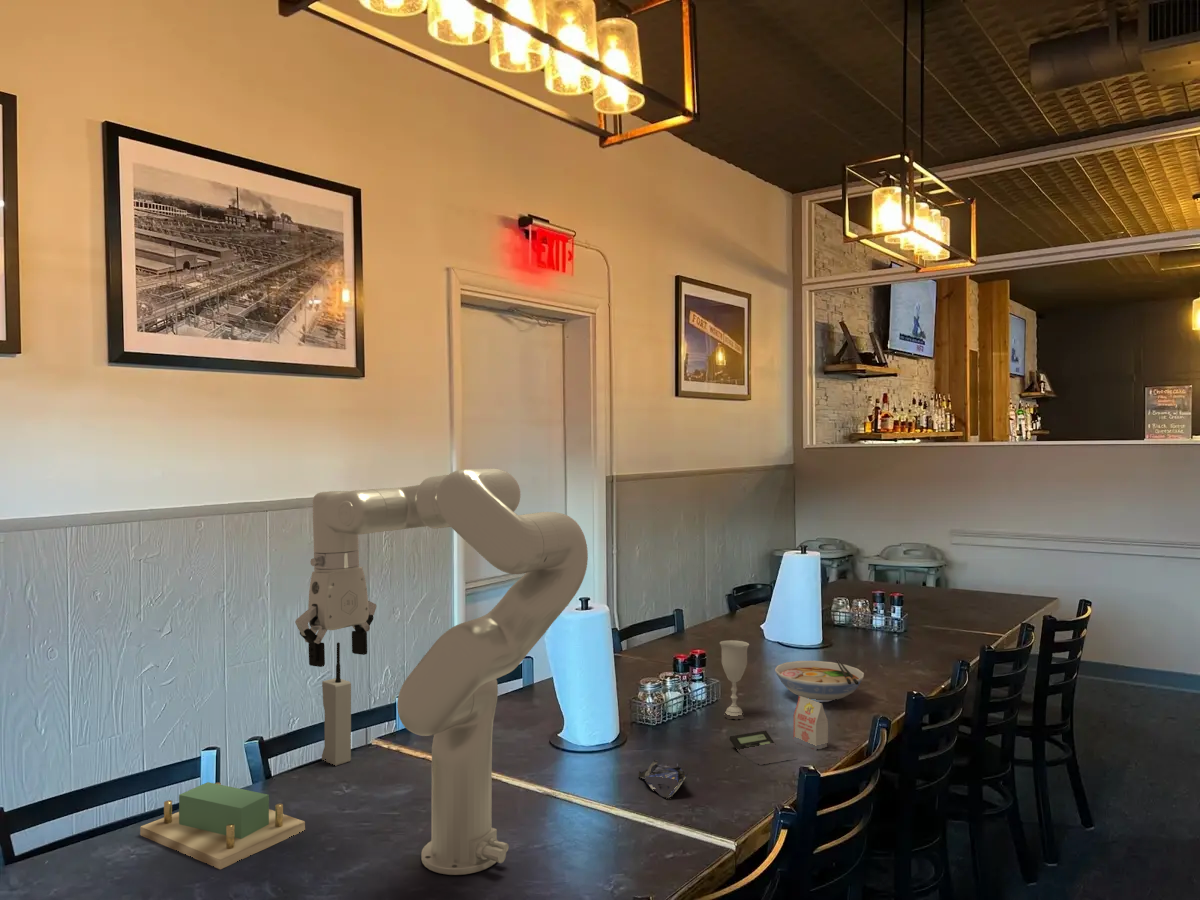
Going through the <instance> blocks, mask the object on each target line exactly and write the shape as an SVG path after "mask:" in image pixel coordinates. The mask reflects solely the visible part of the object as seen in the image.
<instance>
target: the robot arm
mask: <svg viewBox="0 0 1200 900" xmlns="http://www.w3.org/2000/svg"><path fill="white" fill-rule="evenodd" d="M520 501H521V488H520V485H519V483H518V482H517V480H516V478H515V477H514V476H513V475H512V474H511V473H509V472H508V471H505V470H502V469H498V468H490V467H489V468H488V467H487V468H467V469H466V468H465V469H458V470H454V471H453V472H450V473H448V474H442V475H435V476H429V477H427V478H425V479H423V481H421V483H420V484H417V485H409V486H402V487H394V488H393V487H392V488H391V487H390V488H369V489H355V490H331V491H322V492H321V491H320V492H317V493H316V494H315V495H314V496H313V499H312V522H313V523H312V525H313V526H312V528H313V529H312V530H313V533H312V534H313V535H312V538H313V558H311V559H310V565H311V566H312V567H313V570H314V571H312V572H311V576H310V581H309V582H310V584H309V592H308V603H307V604H308V605H307V606H308V609H307V610H306V611H304V612H303V613H302V614H301V615H299V617H298V618H296V619H295V625H296V628H297V629H298V631H299V635H300V636H301V637H302V638H303V639H304V642H305V643H307V644H308V664H309V666H311V667H318V668H319V667H320V668H322V667H324V666H325V665H326V657H325V655H326V654H325V653H326V652H325V650H326V649H325V643H324V642H323V641H322V640H323V639H324V637H325V635H326V634H327V632H328V631H336V630H340V629H344V628H349V627H351V628H353V629H354V630H351V653H352V654H354V655H363V656H365V655H367V654H368V632H369V631H370V629H371V624H372V623H373V620H374V616H375V612H376V609H377V604H376V603H374V602H372V601H370V600H369V595H368V589H367V588H368V586H367V582H366V576H365V572H364V570H363V567H362V566H360V555H359V554H360V553H359V551H360V550H359V549H360V548H359V547H360V546H359V535H367V534H373V533H374V534H375V533H382V532H392V531H393V532H394V531H401V530H408V529H416V528H422V527H423V528H424V527H425V528H426V527H428V528H431V529H436V530H437V529H444V528H451V529H452V530H453V531H455V533H456V534H457V535H458V536H459V537H461V538H462V539H463V540H464V541H465V542H466V543H467V544H468V545H470V546H471V547H472V548H473V549H474V550H475V551H476V552H477V553H478V554H480V556H481V557H483V558H484V559H485V560H486V561H487V563H489V564H490V565H492V566H493V567H494V568H496V569H497V570H498V571H501V572H503V573H506V574H509V575H523V574H524V575H523V576H522V577H520V578H519V579H518V580H516V581H515V582H514V584H513V585H512V586H510V588H509V589H508V590H507V591H506V593H505V594H504V596H503V597H502V598H501V599H500V600H499V601H498V602H497V603H496V605H495V606H494V607H492V609H491V610H490V611H488V613H486V614H485V615H482V616H480V617H478V618H474V619H471V620H467V621H464V622H461V623H458V624H457V625H455V626H452V627H451V628H449V629H447V630H446V631H445V632H444V633H443V634H442V635H440V636H439V638H438V639H436V641H435V642H434V643H433V644H432V646H431V647H430V648H429V650H428V651H427V652H426V653H425V654H424V656H423V657H422V659H420V661H419V662H418V663H417V664H416V666H415V667H414V668H413V670H412V671H411V672H410V673H409V675H408V676H407V677H406V679H405V680H404V682H403V683H402V685H401V688H400V691H399V692H398V696H397V704H396V705H397V713H398V717H399V720H400V722H401V724H402V725H403V727H404V728H405V729H406V730H407V731H409V732H411V733H412V734H415V735H418V736H420V737H421V736H422V737H425V736H426V737H427V736H433V739H432V745H431V746H432V747H431V829H430V830H431V839H430V841H429V842H427V844H425V845H424V846H423V848H422V849H421V863H422V865H423V866H424V867H425V868H427V869H428V870H429V871H431V872H434V873H438V874H441V875H442V874H443V875H449V876H462V875H470V874H471V875H472V874H475V873H479V872H481V871H484V870H487V869H488V868H490V867H492V866H493V865H495V864H496V863H498V864H502V863H504V861H505V860H506V857H507V852H508V850H509V847H510V846H509V845H510V844H509V843H507V842H504V841H499V840H498V838H497V833H498V831H497V828H495V827H492V806H493V805H492V797H493V796H492V791H493V790H492V785H493V784H492V782H493V781H492V776H493V775H492V770H493V769H492V764H493V763H492V759H493V728H494V720H495V713H496V708H497V703H498V695H499V693H498V689H499V688H498V687H499V686H498V680H497V679H499V678H501V677H503V676H506V675H507V674H510V673H512V672H513V671H515V669H517V667H518V666H519V665H520V664H521V663H522V662H523V660H524V659H525V658H526V657H527V655H528V654H529V652H531V651H532V649H533V648H534V647H535V646H536V644H538V642H539V640H540V639H542V638H543V636H544V635H545V633H546V632H547V631H548V630H549V628H550V627H551V626H552V625H553V624H554V622H555V621H556V620H557V619H558V618H559V616H560V615H561V614H562V613H563V612H564V610H565V609H566V608H567V606H568V605H570V603H571V601H572V600H573V598H575V596H576V594H577V593H578V591H579V590H580V588H581V586H582V584H583V581H584V579H585V575H586V573H587V572H586V571H587V568H588V562H589V561H588V560H589V559H588V557H589V555H588V554H589V553H588V545H587V540H586V537H585V534H584V532H583V530H582V528H581V526H580V525H579V524H578V522H577V521H576V520H575V519H573V518H572V517H571V516H569V515H567V514H564V513H561V512H556V511H541V512H535V513H526V514H524V513H523V514H517V513H515V511H516V510H517V508H518V507H519V504H520Z"/></svg>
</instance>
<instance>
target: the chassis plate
mask: <svg viewBox="0 0 1200 900" xmlns="http://www.w3.org/2000/svg"><path fill="white" fill-rule="evenodd" d="M214 783H215V784H219V785H222V784H221V782H214ZM274 807H275V808H274V809H275V810H273V809H270V808H269V824H268V825H266V826H264V827H263V828H261V829H259V830H257V831H255V832H253V833H252V834H250V835H248V836H246V837H244V838H242V839H239V838H235V825H234V824H228V825H227V826H226V835H222V834H218V833H214V832H210V831H206V830H201V829H197V828H193V827H189V826H185V825H180V824H179V811H177V812H175V813H173V801H172V800H166V801H164V802H163V817H162V818H159V819H157V820H154V821H151V822H149V823H146V824H143V825H141V826H140V827H139V830H140V832H139V834H140V836H141V837H144V838H146V839H148V840H150V841H153V842H155V843H157V844H159V845H162V846H164V847H167V848H169V849H172V850H173V851H176V850H177V851H176V852H178V851H179V853H181V854H183V855H185V854H186V856H189V857H190V856H191V858H192V857H193V859H195V860H197V861H200V862H202V863H205V864H206V863H207V865H210V866H211V867H213V866H214V868H216V869H218V870H222V869H224V868H227V867H229V866H231V865H233V864H235V863H237V861H238V862H240V861H242V860H244V859H246V858H249V857H250V855H251V856H252V855H254V854H257V853H260V852H261V851H263V850H266V849H268V848H270V847H272V846H275V845H277V844H278V843H280V842H283V841H285V840H288V839H290V838H292V837H294V836H296V835H298V834H300V833H303V832H305V831H306V821H305V820H301V819H298V818H296V817H293V816H290V815H287V814H284V804H283V803H277V804H275V806H274ZM304 830H305V831H304ZM302 831H303V832H302ZM299 832H300V833H299ZM293 835H294V836H293ZM291 836H292V837H291ZM289 837H290V838H289ZM241 859H242V860H241ZM239 860H240V861H239Z"/></svg>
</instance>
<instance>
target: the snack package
mask: <svg viewBox="0 0 1200 900" xmlns="http://www.w3.org/2000/svg"><path fill="white" fill-rule="evenodd" d="M658 763H659V762H658V760H657V759H653V761H652V763H651V764H650V765H649V766H648V769H645V770H643V771H640V770H638V775H637V777H638V776H639V777H641V778H643V779H645V778H646V777H655V776H656V777H662V778H670V779H673V780H677V782H678V785H677V786H676V787H675V788H674V790H673V791H671V793H670V794H669V795H670V796H668V797H671V796H672V797H673V795H674V794H675V793H676V792H677V791H678V790H679V788H680V787H681V785H682V784H683V782H684V781H685V779H687V777H688V775H689V774H688V773H689V772H687V773H686V772H685V771H684V768H683V767H680V766H679V765H678V766H677V767H671V768H669V767H668V768H664V769H661V770H659V771H655V770H656V769H657V768H659V767H658ZM666 766H668V765H666ZM651 773H653V774H655V775H650V774H651ZM639 777H638V778H639ZM641 778H640V779H641ZM643 779H642V780H643ZM644 781H645V783H646V784H647V785H648V786H649V787H650V789H651V790H653V789H656V788H655V787H653V784H652V783H649V782H648V781H646V780H644Z"/></svg>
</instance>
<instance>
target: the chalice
mask: <svg viewBox="0 0 1200 900" xmlns="http://www.w3.org/2000/svg"><path fill="white" fill-rule="evenodd" d="M719 646H720V647H721V665H722V669H723V671H724V673H725V675H726V677H727V680H728V681H730V682H731V688H730V691H731V695H730V698H731V701H732V702H731V704H730V706H727V708H726V711H725V712H724V714H725V713H726V714H727V715H730V716H738V715H742V713H743V714H744V712H743V710H742V708H741V707H740V706H738V705H737V700H738V698H739V697H738V696H737V691H738V687H737V683H738V682H740V681H741V679H742V677H743V675H744V673H745V671H746V669H747V666H748V647H749V646H750V644H749V642H746V641H743V640H733V639H730V640H722V641H720V642H719Z"/></svg>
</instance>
